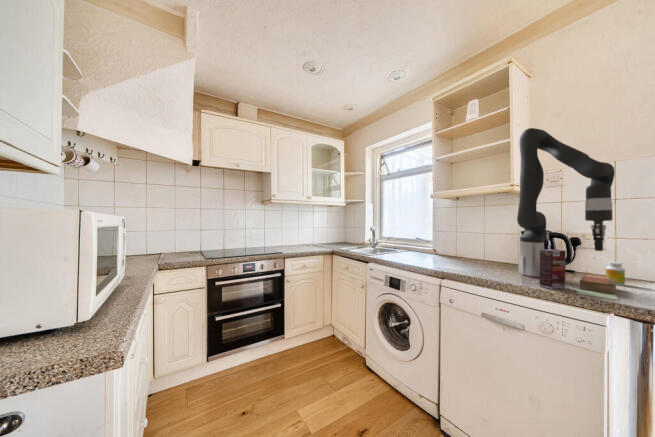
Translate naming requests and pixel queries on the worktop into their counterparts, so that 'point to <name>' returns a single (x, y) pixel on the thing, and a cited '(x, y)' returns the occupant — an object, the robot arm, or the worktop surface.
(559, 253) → the supplement box
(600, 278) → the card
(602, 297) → the mat
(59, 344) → the worktop surface
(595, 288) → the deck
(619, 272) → the supplement bottle
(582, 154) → the robot arm
